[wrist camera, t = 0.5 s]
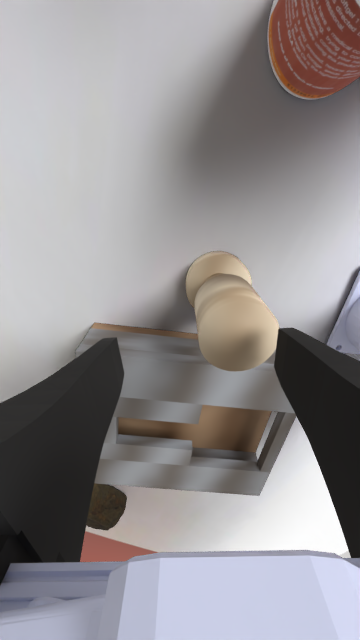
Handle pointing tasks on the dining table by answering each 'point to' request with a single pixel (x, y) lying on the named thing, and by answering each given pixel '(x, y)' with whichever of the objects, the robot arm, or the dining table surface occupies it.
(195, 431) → the keyhole plate
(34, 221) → the dining table surface
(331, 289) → the dining table surface
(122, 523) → the dining table surface
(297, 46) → the pill bottle
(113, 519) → the hand tool
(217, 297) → the keyhole peg
